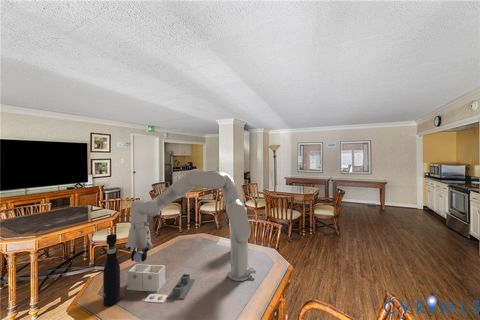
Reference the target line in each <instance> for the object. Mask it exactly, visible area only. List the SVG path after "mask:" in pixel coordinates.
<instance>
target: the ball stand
mask: <svg viewBox="0 0 480 320" xmlns="http://www.w3.org/2000/svg"><path fill="white" fill-rule="evenodd" d="M190 276H191V275H190V274H189V273H183V274H182V275H181V277H180V279H178V281H177V283H176V284H175V285H174V286H173V288H172V289H171V291H170V293H169V294H167V295H168V297H167V298H166V299H169V300H185V298H186V297H187V296H188V293H189V292H190V289H192V287H193V285H194V283H195V281H196V279H194V278H193V279H191V277H190Z"/></svg>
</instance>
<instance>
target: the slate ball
mask: <svg viewBox="0 0 480 320" xmlns="http://www.w3.org/2000/svg"><path fill="white" fill-rule="evenodd" d="M142 254H143V252H142V250H141V251H140V250H139V251H136V253H135V254H134V262H136V263H140V262H142Z"/></svg>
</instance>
